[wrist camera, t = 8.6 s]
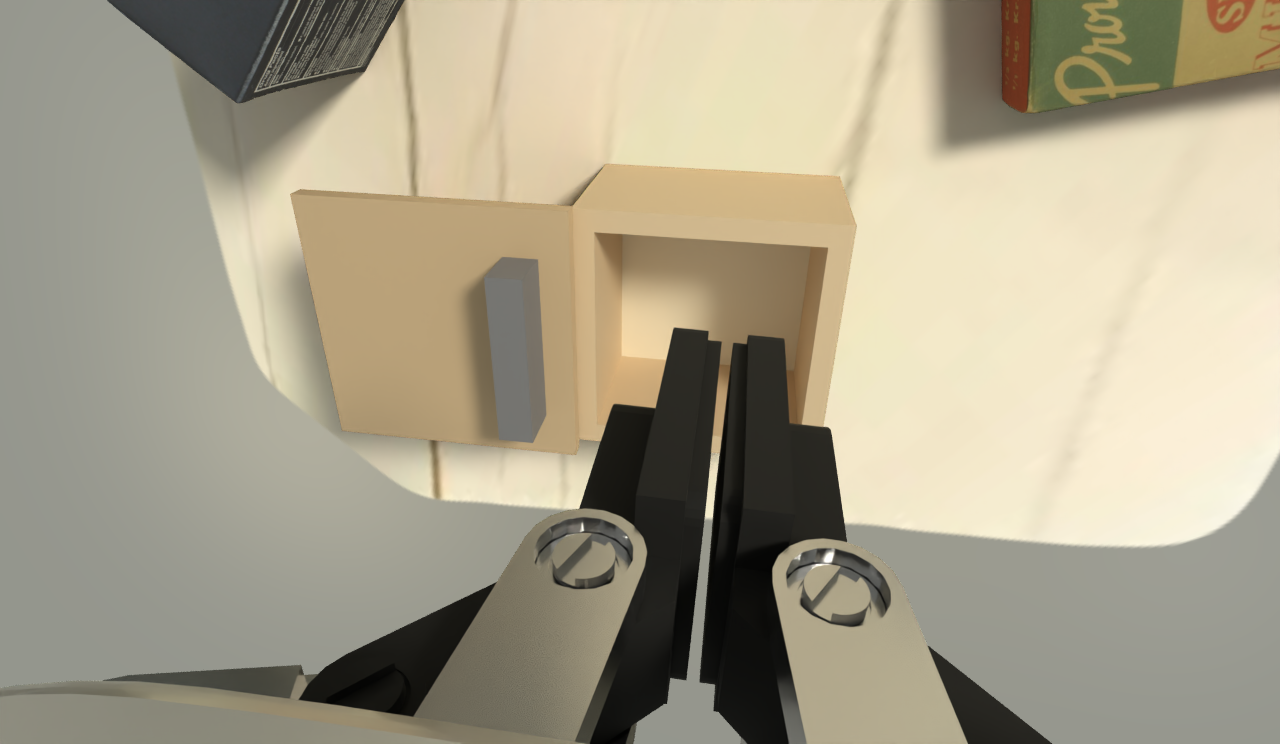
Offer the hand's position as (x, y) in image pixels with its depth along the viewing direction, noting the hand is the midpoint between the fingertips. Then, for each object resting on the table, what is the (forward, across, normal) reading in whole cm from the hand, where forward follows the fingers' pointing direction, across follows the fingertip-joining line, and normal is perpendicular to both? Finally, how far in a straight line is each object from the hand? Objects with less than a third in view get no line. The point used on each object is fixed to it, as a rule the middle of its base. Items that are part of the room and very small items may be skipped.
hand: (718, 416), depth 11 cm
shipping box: (+28, +1, +10) cm, 30 cm away
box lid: (+20, +13, +10) cm, 26 cm away
